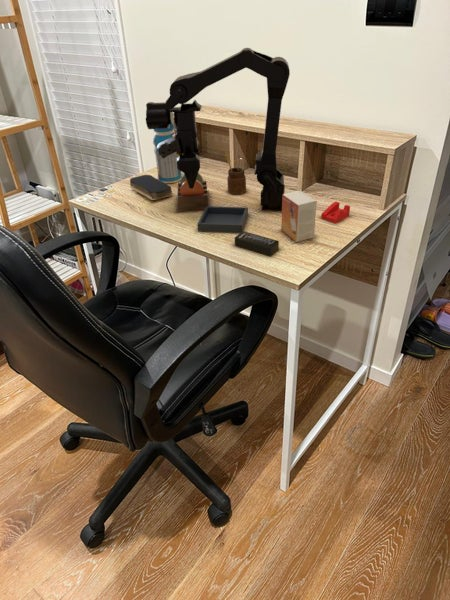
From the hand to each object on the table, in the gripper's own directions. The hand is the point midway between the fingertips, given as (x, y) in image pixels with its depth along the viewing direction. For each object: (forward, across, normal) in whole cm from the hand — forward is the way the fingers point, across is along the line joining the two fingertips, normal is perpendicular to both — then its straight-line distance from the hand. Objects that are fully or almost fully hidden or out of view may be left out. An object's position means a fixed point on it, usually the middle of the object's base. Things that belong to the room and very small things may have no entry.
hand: (191, 182), depth 134 cm
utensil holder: (+8, -10, +14) cm, 19 cm away
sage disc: (+3, -7, 0) cm, 8 cm away
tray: (+8, +12, +8) cm, 17 cm away
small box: (+8, +22, +28) cm, 36 cm away
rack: (+8, -4, 0) cm, 9 cm away
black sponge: (+8, -14, -14) cm, 21 cm away
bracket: (+8, +14, +40) cm, 43 cm away
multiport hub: (+8, +27, +16) cm, 33 cm away
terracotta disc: (+3, 0, 0) cm, 3 cm away
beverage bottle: (+8, -25, -8) cm, 28 cm away
